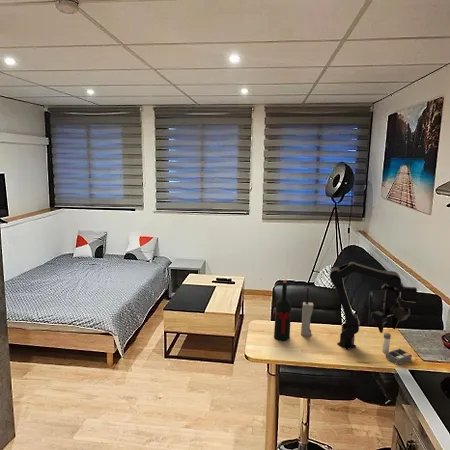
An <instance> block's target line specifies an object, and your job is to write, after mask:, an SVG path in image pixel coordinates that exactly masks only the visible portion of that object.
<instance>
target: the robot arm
mask: <svg viewBox="0 0 450 450" xmlns="http://www.w3.org/2000/svg"><path fill="white" fill-rule="evenodd" d="M329 272H330V273H329V279H330V281H331V283H332V284H333V286H334V287H335V289H336V293H337V295H338V297H339V301H340V305H341V308H342V310H343V313H344V314H343V315H344V319H345V321H344V322H345V323H343V324H342V325H341V333H340V335H339V336H340V337H339V341H338V342H337V343H336V344H337V345H338V346H340V347H342V348H344V349H345V350H350V349H354V348H356V347H357V345H356V344H355V337H356V336H355V335H356V334H357V333H358V332H360V327H361V321H360V319H359V316H358V313H356V314H355V313H354V312H353V308H352V306H351V303H350V299H349V297H348V292H347V291H346V287H345V283H344V278H346V277H347V276H349V275H351V274H352V273H355V274H359V275H363V276H366V277H369V278H372V279H375V280H379V281H380V282H382V283H383V285H381V286H380V287H381V290H383V291H385V292H384V299H382V300H381V302H382V303H383V307H382V308H381V310H380V311H379V310H377V311H372V312H371V314H370V318H372V320H374V322H375V323H376V326H377V329H378V331H379V333H380V334H382V333H383V332H384V328H385V324H386V323H387V322H388V317H391V324H392V329H394V330H396V328H397V326H398V325H399V322H403V321H406V320H407V319H408V317H411V308H410V307H403V306H401V303H400V302H399V299H401V301H402V302H406V303H407V302H408V303H413V304H414V303H415V304H416V303H417V301H418V289H417V287H415V286H412V287H411V286H404V284H403V282H402V278H401V276H400V274H399V273H398V272H397V271H393V270H381V269H377V268H373V267H370V266H366V265H365V264H364V265H363V264H360V263H357V262H355V261H350V262H348V263H345V264H343V265H340V266H334V267H332V268H331V269H330V271H329Z"/></svg>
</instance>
